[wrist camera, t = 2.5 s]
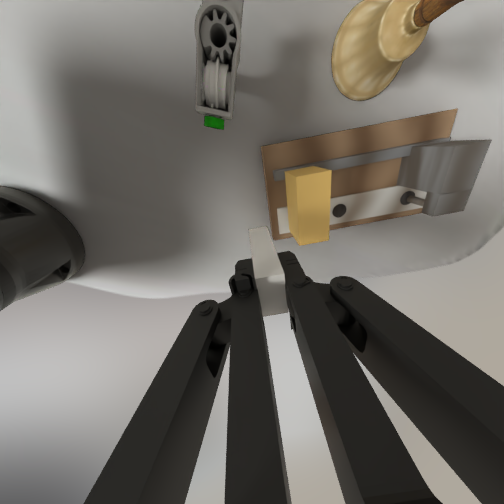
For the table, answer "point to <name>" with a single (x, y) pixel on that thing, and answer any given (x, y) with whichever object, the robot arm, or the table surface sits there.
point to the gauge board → (379, 170)
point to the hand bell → (380, 42)
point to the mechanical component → (217, 58)
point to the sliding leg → (308, 203)
